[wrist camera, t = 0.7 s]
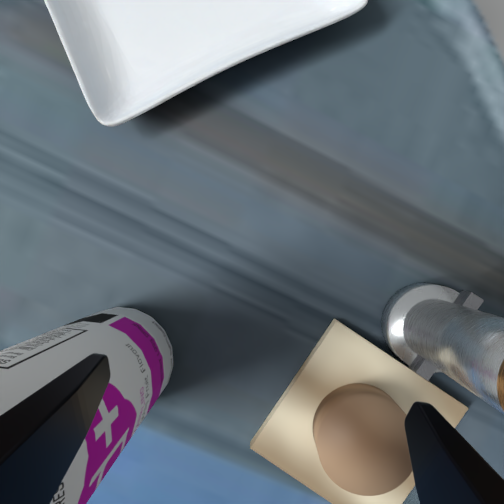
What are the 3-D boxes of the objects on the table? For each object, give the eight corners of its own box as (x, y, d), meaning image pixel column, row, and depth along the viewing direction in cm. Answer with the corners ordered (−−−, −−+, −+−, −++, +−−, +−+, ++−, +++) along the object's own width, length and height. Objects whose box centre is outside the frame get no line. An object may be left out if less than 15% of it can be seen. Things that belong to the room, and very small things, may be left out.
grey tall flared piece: (433, 381, 25) (624, 529, 12) (364, 335, 25) (478, 432, 12) (481, 312, 25) (729, 385, 12) (412, 266, 25) (580, 287, 12)
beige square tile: (375, 526, 25) (391, 564, 22) (250, 441, 25) (249, 468, 22) (461, 403, 25) (489, 424, 22) (334, 318, 25) (344, 327, 22)
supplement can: (187, 321, 25) (80, 429, 10) (160, 418, 25) (15, 664, 10) (91, 292, 25) (-152, 358, 10) (64, 390, 26) (-211, 590, 11)
